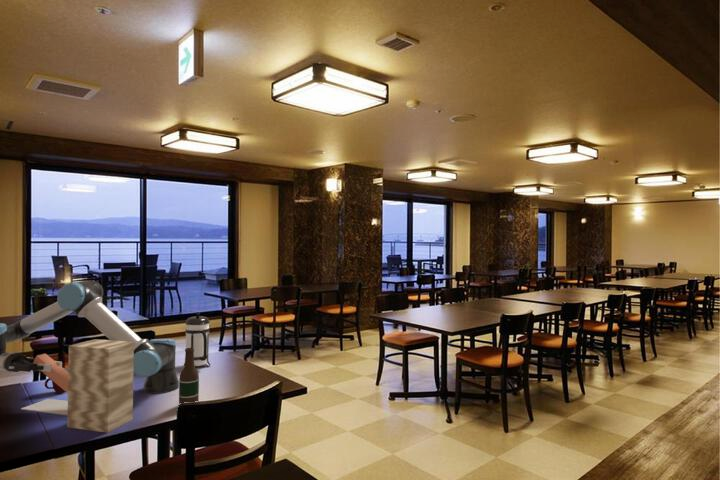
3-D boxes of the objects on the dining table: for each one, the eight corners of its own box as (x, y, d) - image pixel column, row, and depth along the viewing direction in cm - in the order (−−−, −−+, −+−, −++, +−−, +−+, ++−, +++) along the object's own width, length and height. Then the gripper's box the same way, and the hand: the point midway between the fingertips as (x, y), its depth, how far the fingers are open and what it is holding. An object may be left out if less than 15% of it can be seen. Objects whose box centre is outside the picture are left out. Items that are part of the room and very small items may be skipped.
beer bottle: (186, 410, 181) (187, 351, 181) (174, 406, 185) (175, 348, 185) (202, 404, 188) (203, 347, 188) (190, 400, 192) (191, 345, 192)
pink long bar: (91, 402, 182) (95, 394, 181) (82, 406, 178) (87, 398, 177) (41, 361, 188) (45, 353, 188) (32, 363, 184) (36, 355, 184)
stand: (132, 419, 170) (133, 342, 171) (107, 432, 159) (109, 349, 159) (94, 415, 175) (95, 339, 175) (67, 427, 163) (68, 345, 163)
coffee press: (175, 369, 238) (176, 314, 239) (191, 362, 254) (192, 309, 255) (205, 371, 236) (206, 315, 236) (219, 363, 251) (220, 311, 252)
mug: (49, 398, 193) (49, 375, 193) (41, 394, 198) (41, 372, 198) (75, 391, 202) (75, 369, 202) (67, 388, 207) (67, 366, 207)
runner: (105, 406, 184) (105, 405, 184) (81, 417, 173) (81, 416, 173) (48, 399, 191) (48, 398, 191) (20, 409, 180) (20, 408, 180)
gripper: (31, 365, 197) (73, 370, 192) (-9, 376, 181) (36, 381, 175) (31, 349, 198) (74, 352, 192) (-9, 358, 181) (36, 362, 175)
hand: (56, 366), depth 184 cm, fingers closed on pink long bar, 4 cm apart
